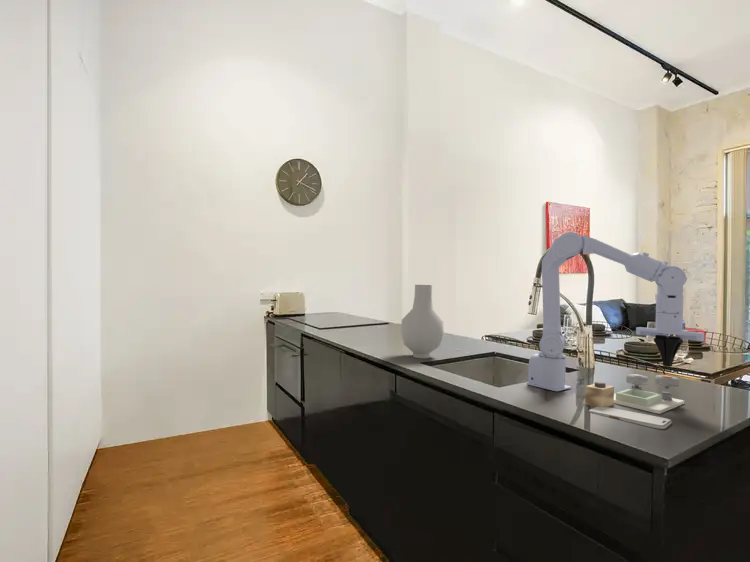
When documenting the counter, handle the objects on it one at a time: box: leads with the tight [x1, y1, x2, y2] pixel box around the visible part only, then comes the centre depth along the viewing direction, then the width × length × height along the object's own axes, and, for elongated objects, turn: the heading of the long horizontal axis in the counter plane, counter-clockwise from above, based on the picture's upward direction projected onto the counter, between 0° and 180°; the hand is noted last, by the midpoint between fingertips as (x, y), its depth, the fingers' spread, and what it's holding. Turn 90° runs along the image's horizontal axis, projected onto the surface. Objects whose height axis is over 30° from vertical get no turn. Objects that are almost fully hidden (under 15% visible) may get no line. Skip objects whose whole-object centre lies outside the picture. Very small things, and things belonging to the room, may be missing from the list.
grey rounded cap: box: [654, 374, 680, 390], centre depth 108 cm, size 5×5×3 cm
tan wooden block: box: [584, 381, 615, 408], centre depth 104 cm, size 4×6×5 cm, turn 127°
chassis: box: [614, 373, 685, 415], centre depth 107 cm, size 13×16×6 cm
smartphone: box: [588, 406, 672, 430], centre depth 94 cm, size 7×1×15 cm
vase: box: [400, 284, 445, 359], centre depth 163 cm, size 17×16×28 cm
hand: (667, 365), depth 108 cm, fingers closed
